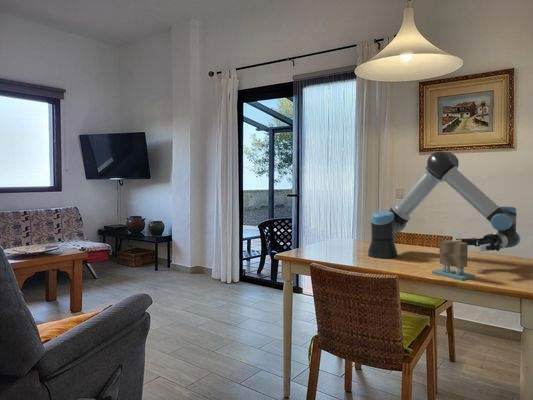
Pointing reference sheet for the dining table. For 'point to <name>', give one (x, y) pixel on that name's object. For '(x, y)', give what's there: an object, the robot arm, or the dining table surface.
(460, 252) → the brown boxy piece
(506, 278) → the dining table surface
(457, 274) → the peg stand
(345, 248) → the dining table surface
